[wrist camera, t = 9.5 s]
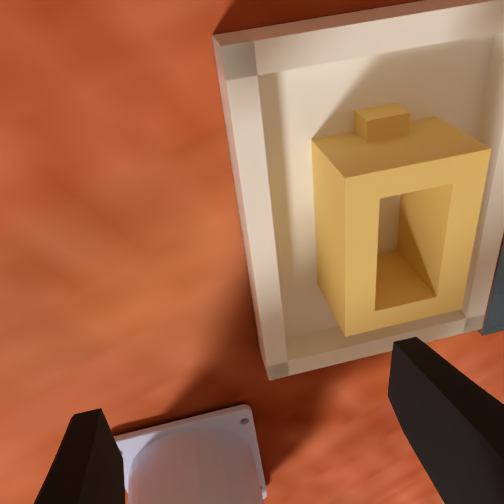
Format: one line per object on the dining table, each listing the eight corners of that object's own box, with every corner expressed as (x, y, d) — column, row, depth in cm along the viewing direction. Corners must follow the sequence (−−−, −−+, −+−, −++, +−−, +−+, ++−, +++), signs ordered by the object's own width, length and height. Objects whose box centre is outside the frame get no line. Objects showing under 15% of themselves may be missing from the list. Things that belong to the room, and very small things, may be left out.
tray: (459, 303, 25) (481, 328, 24) (260, 350, 24) (268, 380, 22) (516, -15, 17) (557, -11, 15) (212, 35, 16) (220, 46, 14)
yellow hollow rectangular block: (310, 118, 17) (344, 154, 14) (437, 94, 18) (496, 124, 15) (318, 297, 22) (345, 350, 19) (418, 274, 23) (458, 323, 20)
